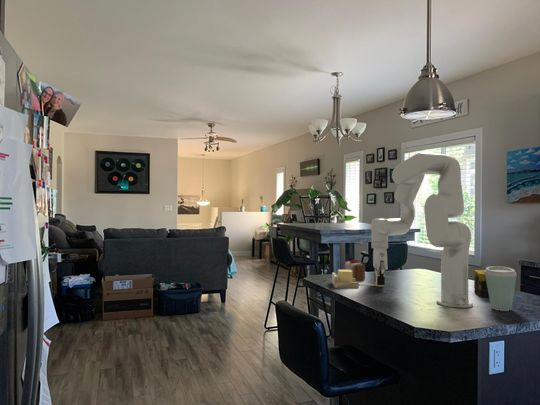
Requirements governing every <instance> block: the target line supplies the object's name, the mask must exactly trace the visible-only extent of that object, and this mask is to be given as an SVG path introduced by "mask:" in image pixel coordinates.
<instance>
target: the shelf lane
mask: <svg viewBox="0 0 540 405" xmlns="http://www.w3.org/2000/svg"><path fill="white" fill-rule="evenodd" d="M331 273H332V274H331V276H332V277H331V279H332V280H331V281H332V285H333V287H334V288H335V289H336V288H337V289H339V288H341V289H345V288H346V289H359V287H360V285H359V284H360V281H355V278H352V282H338V275H337V274H336V272H331Z"/></svg>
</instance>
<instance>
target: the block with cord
mask: <svg viewBox="0 0 540 405" xmlns="http://www.w3.org/2000/svg"><path fill="white" fill-rule="evenodd" d="M379 272H380V271H379ZM377 276H378V271H376V282H375V283H359V286H370V287H371V286H375V287H377V286H378V287H379V288H381V287H384V285H378V284H377ZM337 278H338V282H352V271H351V270H345V269H337ZM378 287H377V288H378Z"/></svg>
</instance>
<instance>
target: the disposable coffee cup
mask: <svg viewBox="0 0 540 405" xmlns="http://www.w3.org/2000/svg"><path fill="white" fill-rule="evenodd" d="M484 270H485V271H484V274H485V276H486V282H487V287H488V293H489V302H490V303H489V304H490V307H491V309H493V310H494V309H495V310H496V311H499V310H500V311H501V312H509V310H510V311H512V308H513V302H514V296H515V288H516V283H517V282H516V281H517V276H518V275H517V272H516V271H515V270H516V269H513V268H511V267H507V266H498V265H497V266H495V265H493V266H492V265H491V266H486V267H485V269H484ZM500 311H499V312H500Z"/></svg>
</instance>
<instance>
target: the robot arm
mask: <svg viewBox="0 0 540 405" xmlns="http://www.w3.org/2000/svg"><path fill="white" fill-rule="evenodd" d="M426 175H436V176H437V175H438V176H439V178H438V179H437V191H438V192H437V193H432V194H431V195H429V196H428V197H427V199H426V200H425V203H424V207H423V208H424V209H423V211H424V221H425V231H426V237H427V240H428V242H429V243H430V244H431V245H432V246H433V247H436V248H442V252H441V255H440V256H441V257H440V258H441V259H440V261H441V263H440V297H438V298H436V303H437V304H439V305H441V306H444V307H450V308H458V309H459V308H461V309H464V308H465V309H467V308H472V307H473V306H474V303H473V301H472V300H469V261H470V260H469V255H470V246H471V241H472V232H471V229H470V227H469V226H468V225H467V224H466V223H464V222H462V221H449V219H455V218H459V217H461V216H462V215H463V213H464V212H465V204H464V202H465V201H464V194H463V186H462V177H461V176H462V172H461V165H460V163H459V161H458V160H457V159H456V158H455V157H454V156H452V155H448V154H446V153H445V154H444V153H437V152H436V153H435V152H425V151H424V152H418V153H416V154H414V155H412V156H410V157H409V158H407V159H405V160H403V161H401V162H400V163H399V164H397V165H396V166H395V167H394V168H393V171H392V173H391V178H392V181H393V182H394V183H395V184H396V185H397V184H398V185H397V188H396V190H395V193H394V199H395V201H397V202H399V203H400V204H401V205H402V211H401V214H400V216H399V218H372V220H371V244H370V245H371V247H370V248H371V249H373V253H372V256H373V257H372V258H373V259H372V260H373V261H372V264H373V268H374V283H376V271H378V276H377V284H378V285H383V286H385V279H386V277H385V275H386V274H385V271H387V270H388V251H387V249H389V236H402V235H405V234H407V233H408V232H409V230H410V229H411V227H412V225H413V223H414V221H415V217H416V215H415V214H416V210H415V205H414V203H415V200H416V197H417V195H418V193H419V191H420V188H421V186H422V184H423V182H424V179H425V176H426ZM379 271H380V272H379Z"/></svg>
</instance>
